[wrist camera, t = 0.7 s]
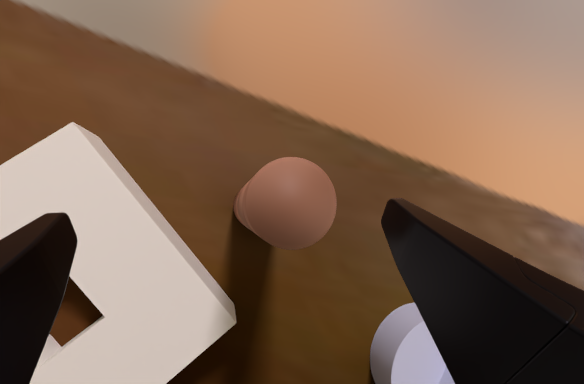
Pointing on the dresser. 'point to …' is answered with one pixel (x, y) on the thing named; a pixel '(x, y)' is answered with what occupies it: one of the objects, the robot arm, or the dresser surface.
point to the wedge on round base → (406, 351)
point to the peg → (288, 203)
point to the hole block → (114, 266)
